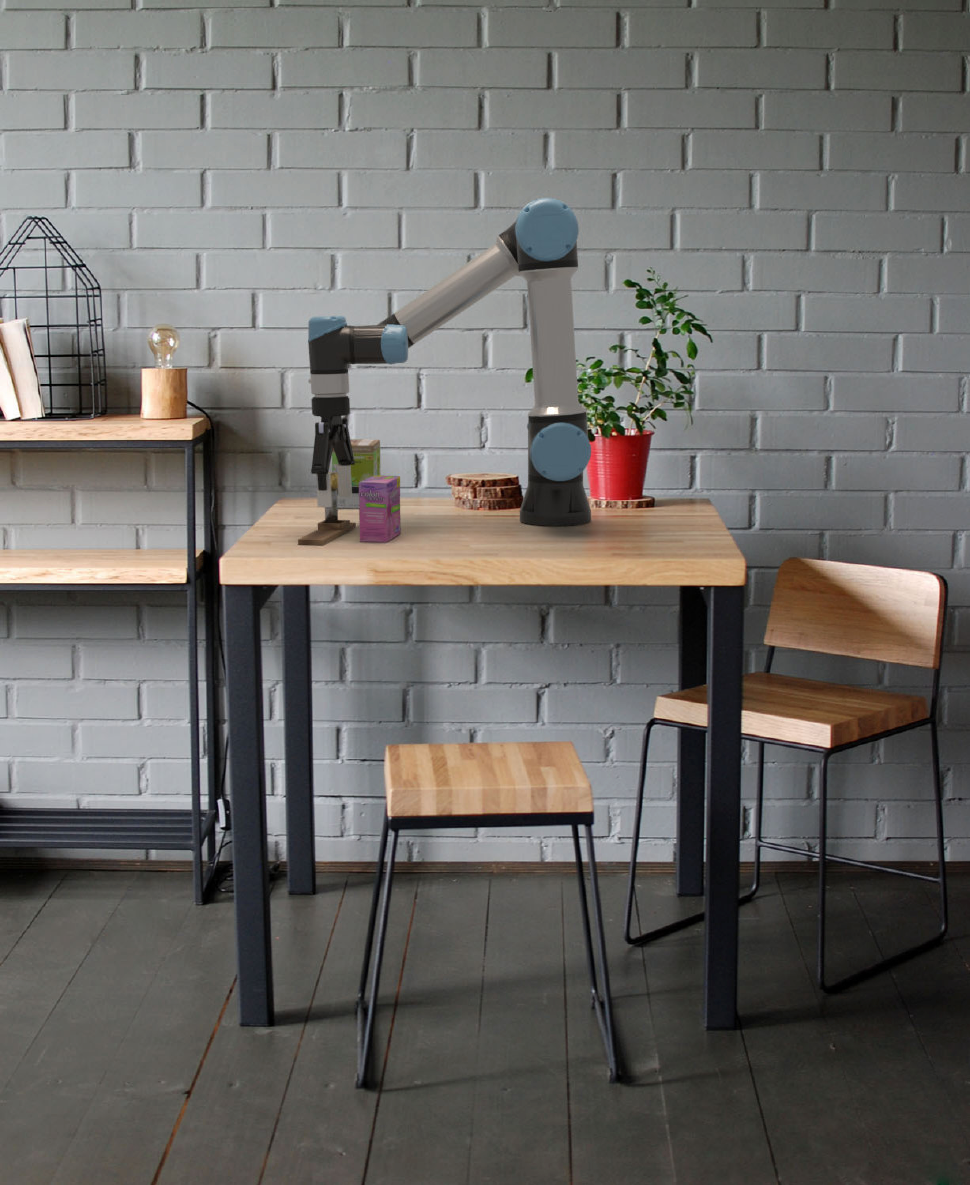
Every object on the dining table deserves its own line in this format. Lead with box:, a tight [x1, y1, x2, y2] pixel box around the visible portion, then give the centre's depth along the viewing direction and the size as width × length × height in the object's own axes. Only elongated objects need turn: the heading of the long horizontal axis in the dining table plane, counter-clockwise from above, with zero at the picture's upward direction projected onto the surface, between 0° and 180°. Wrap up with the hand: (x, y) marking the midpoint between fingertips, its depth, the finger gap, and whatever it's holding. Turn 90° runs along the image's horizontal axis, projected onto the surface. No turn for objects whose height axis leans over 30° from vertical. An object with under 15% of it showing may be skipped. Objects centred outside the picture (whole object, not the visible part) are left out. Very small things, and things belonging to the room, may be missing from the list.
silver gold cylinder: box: [324, 471, 339, 523], centre depth 267 cm, size 3×3×11 cm
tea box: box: [331, 438, 381, 509], centre depth 306 cm, size 15×10×15 cm
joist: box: [297, 519, 357, 546], centre depth 264 cm, size 5×22×2 cm, turn 169°
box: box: [358, 474, 401, 544], centre depth 260 cm, size 10×6×12 cm, turn 168°
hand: (335, 502), depth 266 cm, fingers open, 13 cm apart
